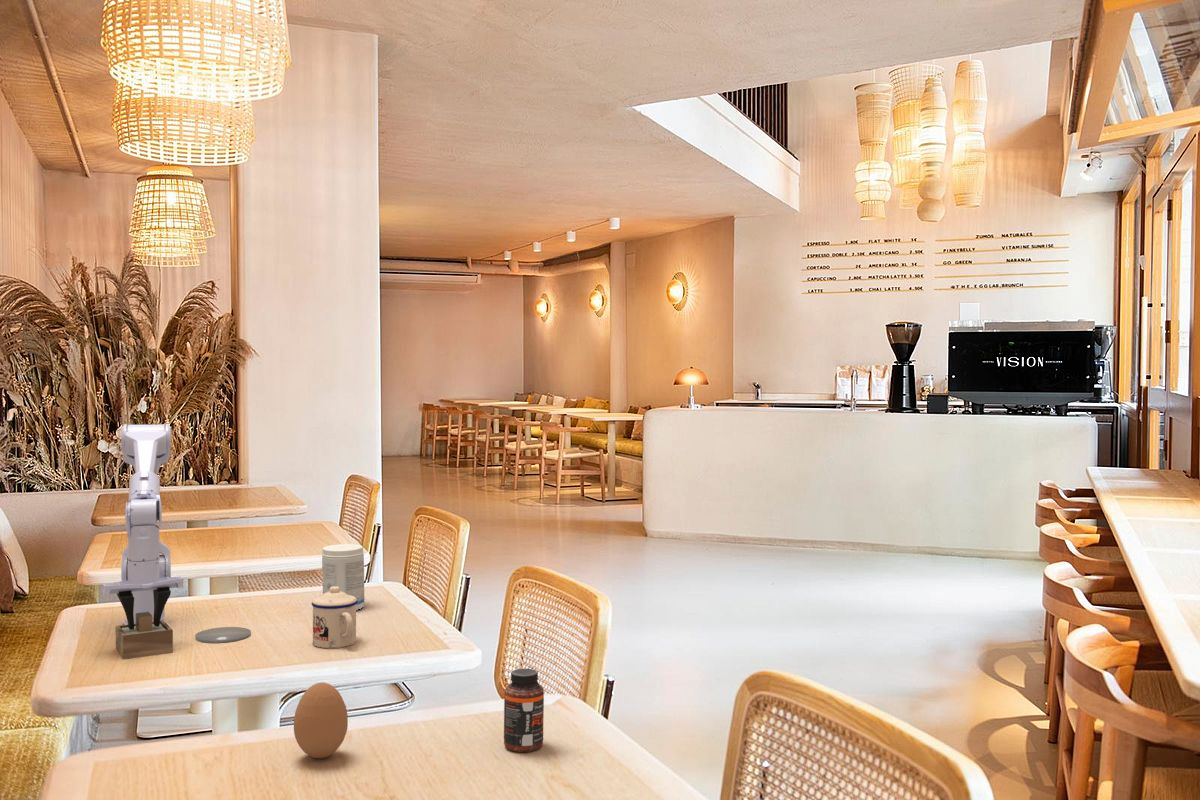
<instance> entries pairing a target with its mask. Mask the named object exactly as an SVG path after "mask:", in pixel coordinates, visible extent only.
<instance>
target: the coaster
mask: <svg viewBox="0 0 1200 800" xmlns="http://www.w3.org/2000/svg"><path fill="white" fill-rule="evenodd" d="M251 635H252V631H251V629H249V628H246V627H241V626H223V627H215V628H208V629H204V630H201V631H199V632H197V633H196V634H195V635H194V639H195V640H196V641H197V642H200V643H206V644H226V643H233V642H238V641H239V642H240V641H243V640H246V639H248V638H250V637H251Z"/></svg>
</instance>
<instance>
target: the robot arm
mask: <svg viewBox="0 0 1200 800" xmlns="http://www.w3.org/2000/svg"><path fill="white" fill-rule="evenodd" d="M171 428H172V427H171V426H170V424H169V423H165V424H127V423H124V424H123V425H122V426H121V430H120V435H121V436H120V437H121V438H120V439H121V441H120V447H121V448H120V449H121V451H122V453H121V454H122V459H124V461H123V462H124V463H125V464H127V465H131V466H132V467H133V469H134V472H135V473H134V474H132V476H131V477H129V480H128V481H129V482H128V484H129V485H128V502H127V501H126V503H125V512H124V514H125V515H124V516H125V521H124V522H125V526H126V538H128V539H127V546H126V547H125V548H124V549H123V551H122V555H121V558H122V559H121V566H120V567H121V568H120V569H121V571H120V572H121V573H120V575H121V576H120V577H121V581H117V582H110V583H109V582H108V583H103V584H102V594H103V595H104V596H110V595H114V594H116V596H117V598H118V600H119V601H120V604H121V605H122V608H123V611H124V614H125V617H126V620H122V624H123V625H128V628H129V629H130V630H132V629H134V624H136V613H142V612H149V613H150V614H151V615H152V622H154V625H155V626H156V627H157V626H159V625H160V621H163V620H164V621H165V623H166V624H167V625H168V626H169V627H170V624H169V623H168V622H167V621H166V620H165V618H166V617H165V610H166V609H165V607H166V604H167V601H168V600H169V599H170V596H171V590H170V589H174V588H178V589H181V588H182V589H183V588H184V577H183V576H172V569H171V567H172V561H171V558H172V557H171V548H169V546H168V545H167V544H166V543H164V542H162V541H160V527H161V525H162V521H163V520H162V517H163V515H162V514H163V513H162V512H163V507H162V505H163V503H162V500H161V495H160V493H161V491H160V490H161V487H160V486H161V485H160V483H161V481H160V480H161V479H160V477H159V476H158V472H159V471H160V467H161V466H162V465H163V464H165V463H168V462H169V461H170V459H169V458H171V449H172V446H171V445H172V443H171V441H172V440H171V438H172V437H171V435H172V433H171V430H172V429H171ZM158 522H159V525H158Z"/></svg>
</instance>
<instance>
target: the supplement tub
mask: <svg viewBox="0 0 1200 800" xmlns="http://www.w3.org/2000/svg"><path fill="white" fill-rule="evenodd" d="M321 556H322V557H321V570H322V572H321V573H322V574H321V575H322V584H321V585H322V595H323V594H325V593H326V592H330V587H334V586H337V587H339V588H340V591H342V592H344V593H346V594H347V595H351V596H354V597H355V598H356V599H357V604H356V610H357V611H359V610H358V609H360V610H362V609H363V608H364V607H363V606H365V554H364V547H363V545H361V544H356V543H339V544H330V545H326V546H324V547H322V554H321ZM362 607H363V608H362ZM361 608H362V609H361Z"/></svg>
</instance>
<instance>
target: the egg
mask: <svg viewBox="0 0 1200 800" xmlns="http://www.w3.org/2000/svg"><path fill="white" fill-rule="evenodd" d="M348 717H349V714H348V709H347V706H346V703H345V701H344V699H343V697H342V695H341V693H340V692H339V690H338V689H337V688H336V687H334V685H332V684H330V683H327V682H325V681H324V682H323V681H322V682H317V683H315V684H312V685H311V686H309V687H308V688H307V689H306V690H305V692H304V693H303V694H302V696H301V697H300V699H299V701H298V703H297V706H296V708H295V711H294V718H293V734H294V738H295V741H296V743H297V744H298V746H299V748H300V749H301V751H302V752H304V754H306V755H308V756H309V757H310V758H314V759H319V760H320V759H325V758H327V757H330V756H332V755H333V754H334V753H335V752H336V751H337V750H339V748H340V746H341V745H342V744H343V742H344V740H345V737H346V735H347V731H348V728H349V727H348V725H349V724H348V721H349V718H348Z"/></svg>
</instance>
